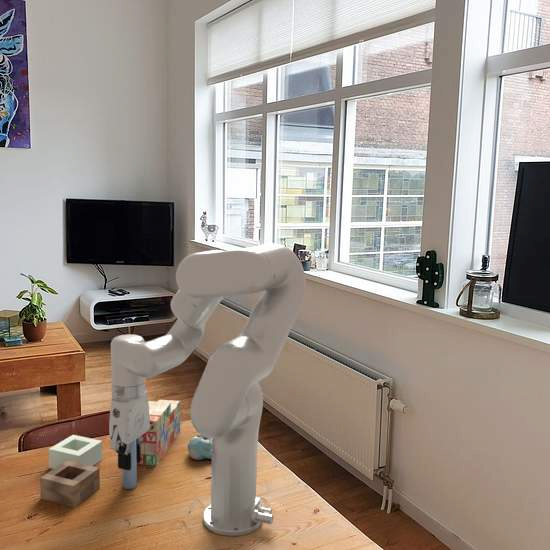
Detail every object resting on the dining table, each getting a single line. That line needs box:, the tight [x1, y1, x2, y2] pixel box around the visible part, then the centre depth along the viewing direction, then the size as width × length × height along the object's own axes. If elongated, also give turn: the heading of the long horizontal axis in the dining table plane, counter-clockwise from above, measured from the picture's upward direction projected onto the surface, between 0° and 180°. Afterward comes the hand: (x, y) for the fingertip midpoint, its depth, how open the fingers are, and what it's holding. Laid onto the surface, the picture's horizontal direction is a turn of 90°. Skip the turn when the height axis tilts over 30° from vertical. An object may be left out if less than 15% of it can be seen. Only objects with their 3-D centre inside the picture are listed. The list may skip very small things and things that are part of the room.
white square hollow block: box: [48, 434, 104, 470], centre depth 148 cm, size 9×9×5 cm
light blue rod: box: [121, 440, 138, 490], centre depth 138 cm, size 3×3×16 cm
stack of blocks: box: [137, 399, 181, 467], centre depth 159 cm, size 21×6×12 cm, turn 173°
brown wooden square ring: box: [39, 460, 101, 508], centre depth 135 cm, size 9×9×5 cm
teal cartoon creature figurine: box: [187, 434, 212, 461], centre depth 156 cm, size 11×7×12 cm
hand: (129, 464), depth 138 cm, fingers closed on light blue rod, 3 cm apart
